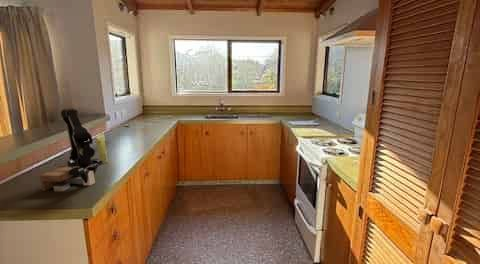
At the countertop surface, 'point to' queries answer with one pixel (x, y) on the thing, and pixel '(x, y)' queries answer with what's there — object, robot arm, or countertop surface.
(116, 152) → the countertop surface
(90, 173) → the cube on a stick
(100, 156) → the tube
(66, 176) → the brown wooden slab
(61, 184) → the token
